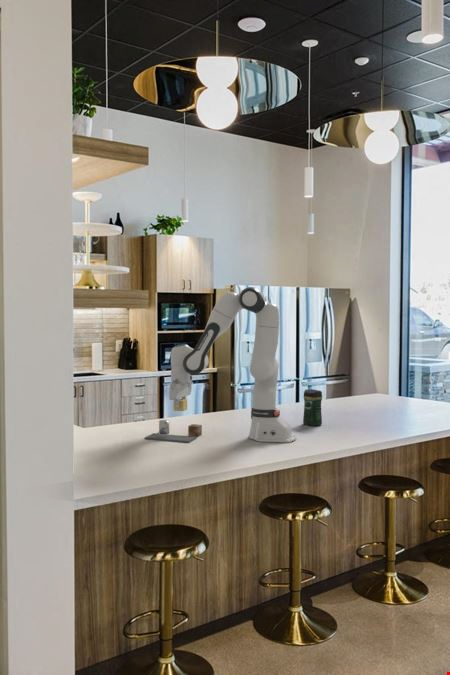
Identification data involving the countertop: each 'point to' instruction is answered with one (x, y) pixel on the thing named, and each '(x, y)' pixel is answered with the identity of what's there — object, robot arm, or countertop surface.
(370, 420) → the countertop surface
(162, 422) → the metal canister
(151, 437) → the rubber mat
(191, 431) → the walnut block
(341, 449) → the countertop surface
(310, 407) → the coffee jar
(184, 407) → the mustard block
